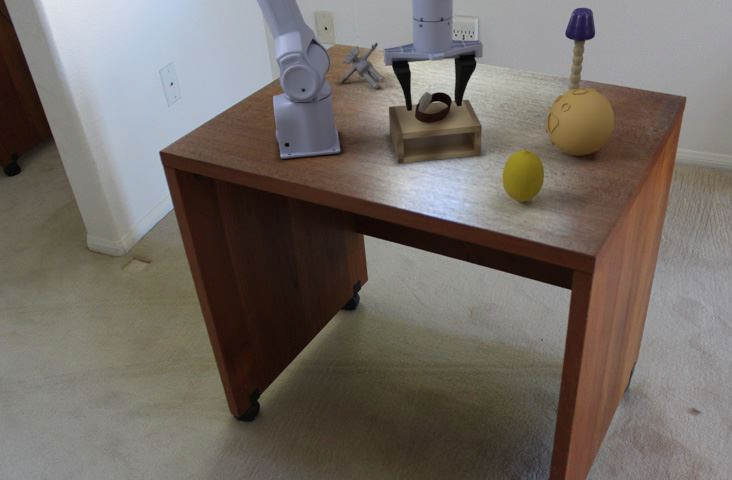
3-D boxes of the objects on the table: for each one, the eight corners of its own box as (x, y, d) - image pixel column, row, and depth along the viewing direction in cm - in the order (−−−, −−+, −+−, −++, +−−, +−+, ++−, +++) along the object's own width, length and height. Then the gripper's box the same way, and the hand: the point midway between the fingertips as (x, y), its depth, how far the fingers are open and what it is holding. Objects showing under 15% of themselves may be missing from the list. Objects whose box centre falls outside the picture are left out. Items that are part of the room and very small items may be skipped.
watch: (433, 103, 120) (433, 82, 118) (459, 109, 118) (459, 87, 115) (407, 121, 115) (406, 99, 113) (433, 128, 113) (433, 105, 110)
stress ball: (616, 143, 117) (625, 81, 110) (600, 171, 110) (609, 107, 104) (553, 133, 120) (559, 73, 114) (535, 160, 113) (540, 97, 107)
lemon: (537, 191, 106) (541, 139, 101) (545, 211, 102) (550, 158, 97) (498, 193, 106) (500, 141, 101) (504, 213, 102) (507, 160, 97)
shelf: (397, 163, 115) (396, 133, 112) (390, 135, 123) (388, 106, 120) (480, 155, 116) (481, 125, 113) (468, 128, 124) (468, 99, 121)
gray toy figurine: (354, 98, 136) (326, 69, 140) (368, 110, 142) (340, 82, 145) (392, 56, 134) (362, 28, 138) (405, 70, 140) (376, 43, 143)
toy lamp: (591, 112, 126) (604, 11, 116) (567, 118, 125) (578, 16, 114) (575, 102, 129) (586, 3, 119) (552, 107, 128) (561, 8, 118)
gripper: (385, 29, 103) (390, 121, 112) (488, 20, 104) (485, 112, 113) (380, 13, 109) (384, 102, 117) (477, 5, 110) (475, 93, 118)
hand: (433, 105), depth 115 cm, fingers open, 7 cm apart
